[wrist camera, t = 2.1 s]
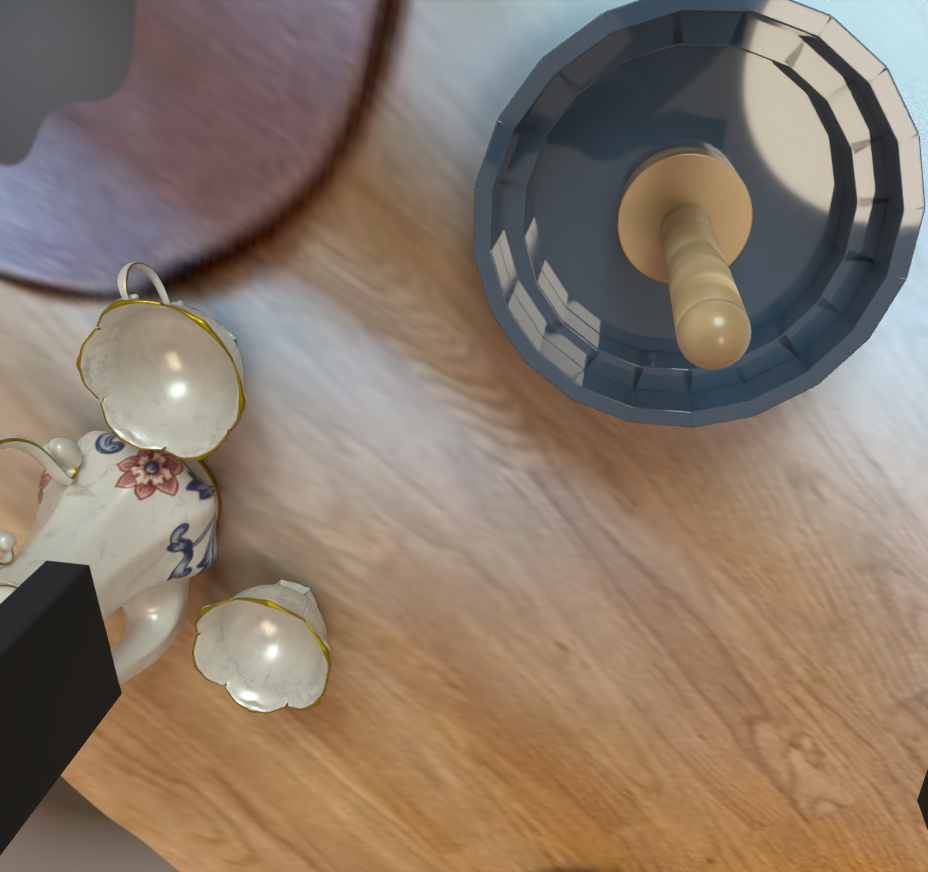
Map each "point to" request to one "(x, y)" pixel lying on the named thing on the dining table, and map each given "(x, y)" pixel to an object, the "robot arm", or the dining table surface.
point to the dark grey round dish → (757, 163)
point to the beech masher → (691, 246)
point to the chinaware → (165, 506)
